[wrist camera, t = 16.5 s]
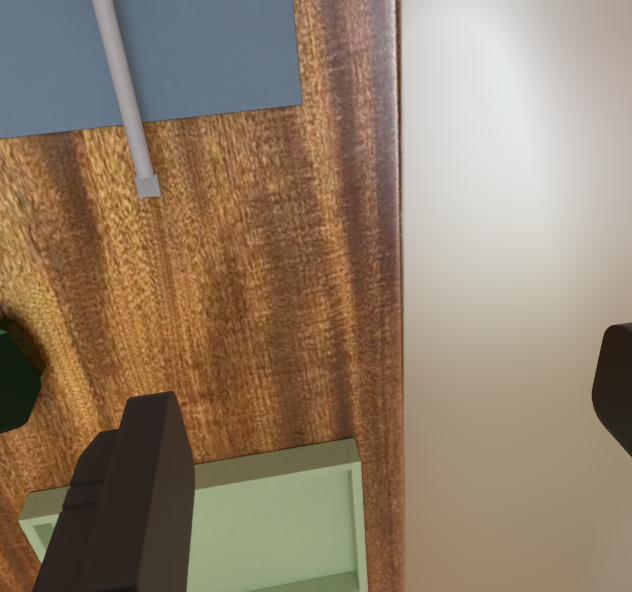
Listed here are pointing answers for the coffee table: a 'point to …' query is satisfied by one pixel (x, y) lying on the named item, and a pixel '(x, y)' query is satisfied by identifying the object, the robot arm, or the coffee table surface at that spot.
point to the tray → (261, 522)
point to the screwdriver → (126, 98)
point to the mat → (143, 61)
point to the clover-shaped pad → (18, 376)
